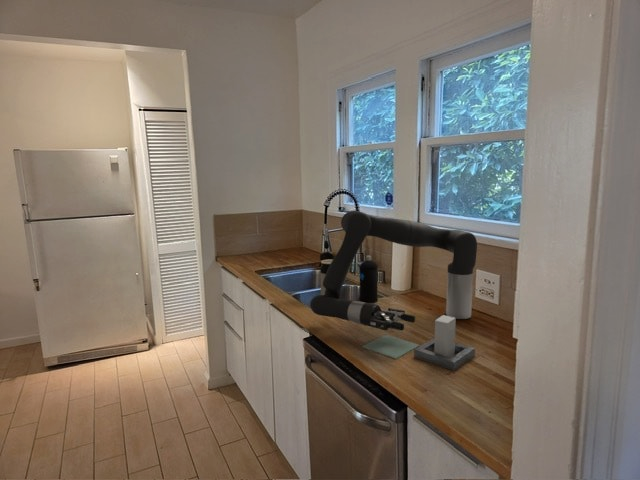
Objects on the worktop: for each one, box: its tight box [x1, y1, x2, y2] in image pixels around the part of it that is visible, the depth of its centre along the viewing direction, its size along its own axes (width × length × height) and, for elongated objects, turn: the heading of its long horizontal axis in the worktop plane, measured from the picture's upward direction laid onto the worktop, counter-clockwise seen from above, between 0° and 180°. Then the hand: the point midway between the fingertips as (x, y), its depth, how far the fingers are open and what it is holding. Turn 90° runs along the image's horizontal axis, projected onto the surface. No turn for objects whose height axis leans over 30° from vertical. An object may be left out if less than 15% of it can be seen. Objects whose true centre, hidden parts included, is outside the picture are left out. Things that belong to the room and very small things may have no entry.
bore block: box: [413, 337, 476, 372], centre depth 125 cm, size 13×13×2 cm
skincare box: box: [433, 314, 457, 358], centre depth 124 cm, size 6×4×12 cm
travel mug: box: [320, 259, 333, 295], centre depth 180 cm, size 8×8×18 cm
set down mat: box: [362, 334, 421, 360], centre depth 133 cm, size 13×13×1 cm
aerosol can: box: [358, 255, 379, 304], centre depth 180 cm, size 8×8×20 cm
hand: (409, 323), depth 130 cm, fingers open, 8 cm apart
